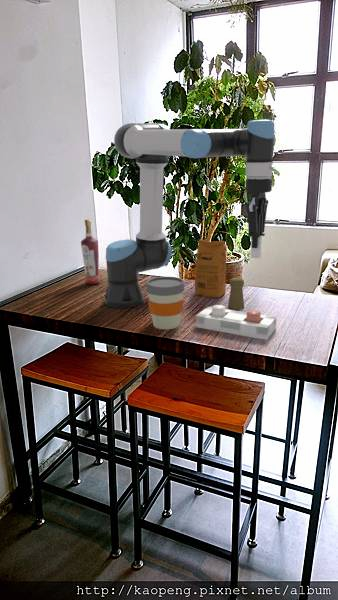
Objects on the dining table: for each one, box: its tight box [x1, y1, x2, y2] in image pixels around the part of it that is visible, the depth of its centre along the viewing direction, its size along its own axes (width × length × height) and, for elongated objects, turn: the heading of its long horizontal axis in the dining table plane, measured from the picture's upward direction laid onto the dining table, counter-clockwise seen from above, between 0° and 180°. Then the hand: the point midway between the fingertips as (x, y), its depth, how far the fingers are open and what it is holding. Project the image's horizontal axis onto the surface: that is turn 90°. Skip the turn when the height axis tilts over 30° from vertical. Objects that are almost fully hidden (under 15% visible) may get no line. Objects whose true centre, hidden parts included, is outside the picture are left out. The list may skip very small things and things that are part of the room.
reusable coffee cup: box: [146, 276, 186, 330], centre depth 150 cm, size 13×13×15 cm
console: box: [195, 305, 277, 340], centre depth 148 cm, size 24×10×4 cm, turn 61°
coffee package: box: [194, 238, 227, 299], centre depth 179 cm, size 10×12×22 cm
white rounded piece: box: [211, 304, 226, 318], centre depth 150 cm, size 4×4×4 cm
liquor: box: [80, 218, 101, 286], centre depth 196 cm, size 7×7×28 cm
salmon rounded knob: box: [246, 309, 262, 324], centre depth 144 cm, size 4×4×4 cm
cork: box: [227, 277, 245, 311], centre depth 165 cm, size 6×6×11 cm
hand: (255, 257), depth 138 cm, fingers closed
